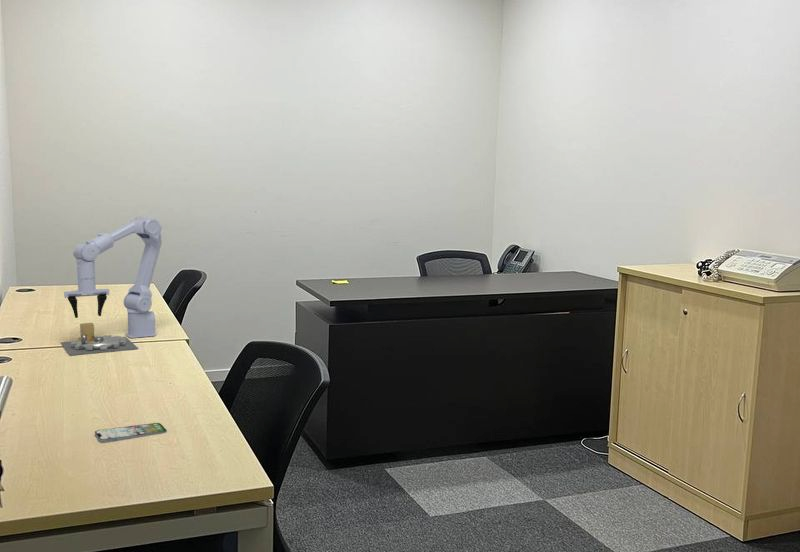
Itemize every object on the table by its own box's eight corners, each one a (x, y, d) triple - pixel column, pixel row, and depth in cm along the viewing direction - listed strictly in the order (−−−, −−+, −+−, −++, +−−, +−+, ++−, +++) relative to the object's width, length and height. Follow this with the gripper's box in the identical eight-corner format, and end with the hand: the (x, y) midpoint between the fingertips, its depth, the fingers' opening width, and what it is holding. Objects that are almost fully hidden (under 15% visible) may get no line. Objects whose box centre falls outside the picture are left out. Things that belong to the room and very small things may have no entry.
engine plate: (125, 337, 281) (125, 336, 281) (138, 349, 263) (138, 348, 263) (60, 343, 270) (60, 342, 270) (69, 355, 252) (69, 354, 252)
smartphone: (167, 431, 180) (100, 440, 172) (167, 435, 180) (100, 444, 172) (159, 422, 186) (94, 430, 178) (159, 426, 186) (94, 435, 178)
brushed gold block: (92, 336, 271) (92, 322, 271) (94, 338, 268) (93, 324, 267) (80, 337, 269) (79, 323, 269) (82, 339, 266) (81, 325, 265)
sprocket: (102, 336, 279) (101, 325, 278) (137, 342, 270) (137, 330, 269) (59, 345, 263) (58, 333, 262) (95, 352, 254) (94, 339, 254)
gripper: (106, 275, 274) (107, 312, 276) (62, 278, 266) (64, 316, 268) (110, 278, 268) (111, 316, 270) (65, 280, 261) (67, 319, 262)
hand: (88, 316), depth 269 cm, fingers open, 7 cm apart
